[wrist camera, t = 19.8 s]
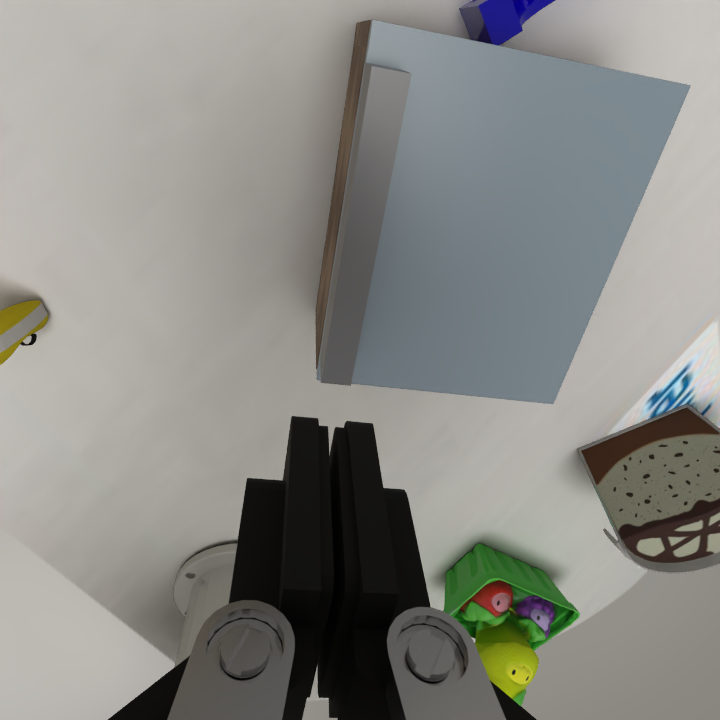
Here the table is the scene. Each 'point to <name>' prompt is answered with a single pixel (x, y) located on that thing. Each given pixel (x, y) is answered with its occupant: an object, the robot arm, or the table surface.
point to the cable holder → (498, 18)
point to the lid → (483, 212)
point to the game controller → (20, 326)
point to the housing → (341, 174)
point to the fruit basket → (506, 614)
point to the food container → (661, 490)
